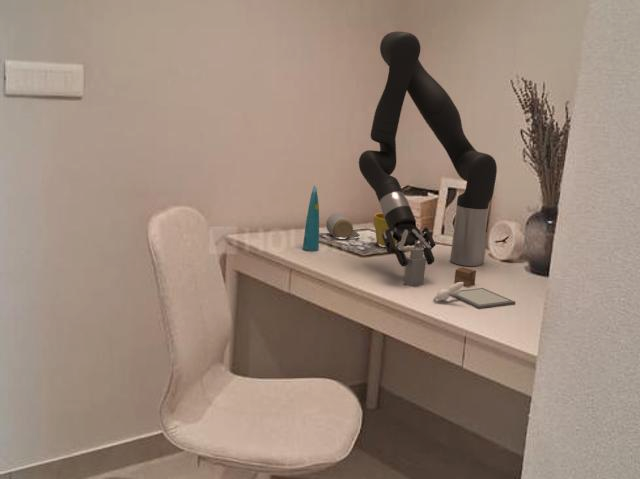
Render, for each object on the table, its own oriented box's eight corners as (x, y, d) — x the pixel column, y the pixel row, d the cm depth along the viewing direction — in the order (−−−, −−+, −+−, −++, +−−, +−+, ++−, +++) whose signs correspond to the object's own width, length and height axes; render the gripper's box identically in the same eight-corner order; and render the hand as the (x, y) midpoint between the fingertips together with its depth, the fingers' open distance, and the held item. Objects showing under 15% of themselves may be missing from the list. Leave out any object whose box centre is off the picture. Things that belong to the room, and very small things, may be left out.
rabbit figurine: (429, 297, 178) (458, 284, 179) (436, 311, 177) (465, 297, 177) (431, 291, 172) (461, 277, 173) (439, 305, 171) (468, 291, 172)
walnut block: (461, 281, 195) (463, 267, 194) (474, 284, 192) (476, 270, 191) (454, 283, 192) (455, 269, 191) (467, 287, 189) (468, 273, 188)
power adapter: (424, 284, 189) (429, 240, 186) (411, 287, 186) (416, 242, 183) (415, 281, 191) (420, 237, 189) (402, 284, 188) (406, 239, 185)
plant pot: (405, 250, 224) (408, 220, 222) (372, 248, 224) (375, 218, 222) (401, 243, 234) (404, 214, 232) (370, 241, 234) (373, 211, 232)
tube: (320, 252, 215) (325, 189, 210) (305, 252, 213) (309, 188, 209) (315, 246, 222) (320, 185, 217) (300, 246, 221) (304, 184, 216)
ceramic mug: (332, 240, 231) (334, 217, 229) (324, 234, 238) (327, 212, 237) (362, 241, 234) (365, 218, 232) (354, 235, 242) (357, 213, 240)
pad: (482, 290, 187) (482, 287, 187) (515, 304, 177) (515, 301, 177) (446, 294, 182) (447, 291, 181) (478, 308, 171) (479, 306, 171)
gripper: (382, 205, 187) (403, 258, 180) (425, 204, 194) (447, 255, 187) (369, 220, 192) (389, 273, 185) (411, 219, 199) (432, 269, 192)
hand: (418, 264), depth 186 cm, fingers open, 8 cm apart
